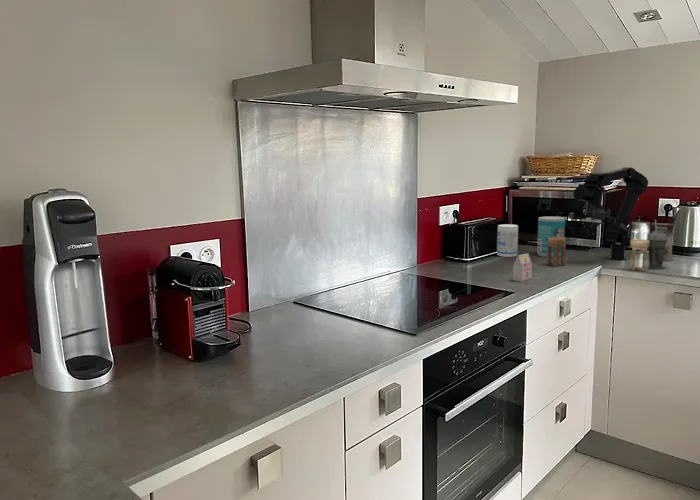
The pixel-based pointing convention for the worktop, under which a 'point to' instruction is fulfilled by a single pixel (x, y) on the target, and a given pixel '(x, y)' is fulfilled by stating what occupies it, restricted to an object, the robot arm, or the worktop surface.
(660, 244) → the beverage cup
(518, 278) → the milk carton
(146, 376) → the worktop surface
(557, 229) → the food can
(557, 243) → the wooden stool
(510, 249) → the supplement tub
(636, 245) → the light brown bar stool
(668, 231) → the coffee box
